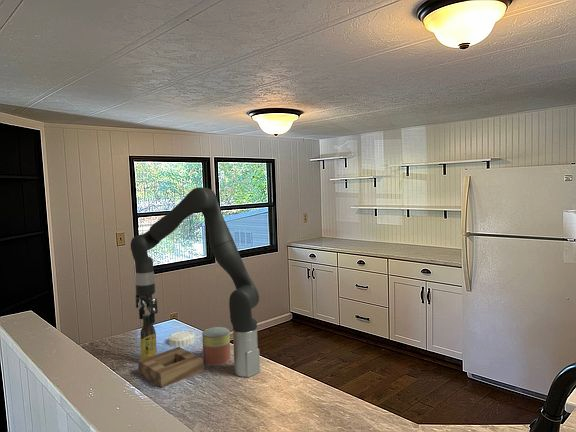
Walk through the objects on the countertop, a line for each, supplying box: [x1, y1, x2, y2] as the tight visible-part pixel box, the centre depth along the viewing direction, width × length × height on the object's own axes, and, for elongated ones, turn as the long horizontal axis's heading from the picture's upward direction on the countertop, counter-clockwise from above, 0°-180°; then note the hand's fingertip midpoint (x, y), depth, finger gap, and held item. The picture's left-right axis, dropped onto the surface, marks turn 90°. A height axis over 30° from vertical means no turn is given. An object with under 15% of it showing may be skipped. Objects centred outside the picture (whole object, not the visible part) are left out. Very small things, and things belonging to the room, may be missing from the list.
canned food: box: [201, 326, 231, 367], centre depth 178 cm, size 11×11×12 cm
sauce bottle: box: [139, 312, 157, 360], centre depth 177 cm, size 6×6×20 cm
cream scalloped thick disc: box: [168, 330, 196, 348], centre depth 199 cm, size 12×12×4 cm
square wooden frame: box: [137, 347, 204, 388], centre depth 167 cm, size 18×18×5 cm
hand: (147, 321), depth 177 cm, fingers open, 8 cm apart
